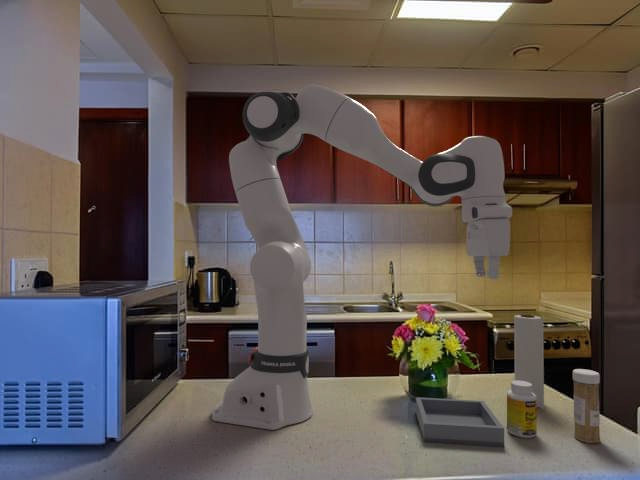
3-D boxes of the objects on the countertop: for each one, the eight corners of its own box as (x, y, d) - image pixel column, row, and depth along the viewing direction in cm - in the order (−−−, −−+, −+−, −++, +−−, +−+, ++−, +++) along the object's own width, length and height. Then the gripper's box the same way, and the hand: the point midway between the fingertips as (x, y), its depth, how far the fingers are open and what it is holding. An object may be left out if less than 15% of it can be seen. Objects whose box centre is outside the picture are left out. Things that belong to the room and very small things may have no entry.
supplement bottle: (527, 441, 82) (526, 389, 82) (501, 431, 86) (501, 381, 87) (542, 435, 85) (542, 384, 85) (516, 425, 89) (516, 377, 90)
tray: (423, 441, 81) (423, 423, 81) (415, 412, 96) (415, 397, 96) (504, 447, 79) (504, 428, 79) (483, 416, 94) (483, 400, 94)
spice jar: (603, 445, 80) (603, 375, 81) (577, 442, 82) (576, 373, 82) (596, 436, 84) (595, 369, 85) (570, 433, 86) (569, 367, 86)
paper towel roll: (513, 396, 108) (513, 313, 108) (540, 399, 106) (539, 315, 106) (515, 405, 101) (515, 317, 102) (544, 409, 99) (543, 319, 100)
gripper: (458, 217, 100) (460, 275, 99) (480, 208, 79) (483, 281, 79) (485, 216, 99) (488, 274, 98) (515, 206, 79) (518, 280, 78)
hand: (486, 277), depth 88 cm, fingers open, 8 cm apart
